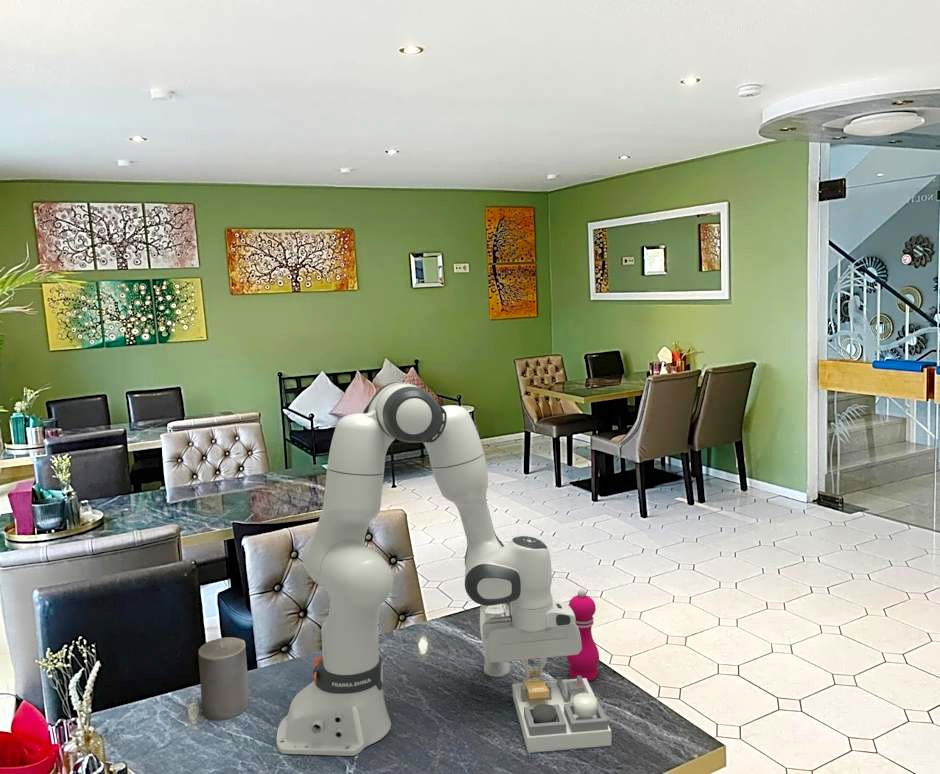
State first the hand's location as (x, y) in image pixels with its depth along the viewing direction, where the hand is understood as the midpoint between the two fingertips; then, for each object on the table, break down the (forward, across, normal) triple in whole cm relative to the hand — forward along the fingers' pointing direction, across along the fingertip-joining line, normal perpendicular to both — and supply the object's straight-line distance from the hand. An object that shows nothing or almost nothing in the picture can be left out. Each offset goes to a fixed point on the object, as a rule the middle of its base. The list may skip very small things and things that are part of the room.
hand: (534, 676), depth 160 cm
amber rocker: (0, 0, -4) cm, 4 cm away
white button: (+1, +7, -14) cm, 16 cm away
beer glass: (+6, -6, +14) cm, 17 cm away
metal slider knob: (+2, +8, -6) cm, 10 cm away
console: (+6, +3, -8) cm, 10 cm away
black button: (+2, -1, -14) cm, 14 cm away
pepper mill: (+6, +13, +9) cm, 17 cm away
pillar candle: (+5, -65, +9) cm, 66 cm away
